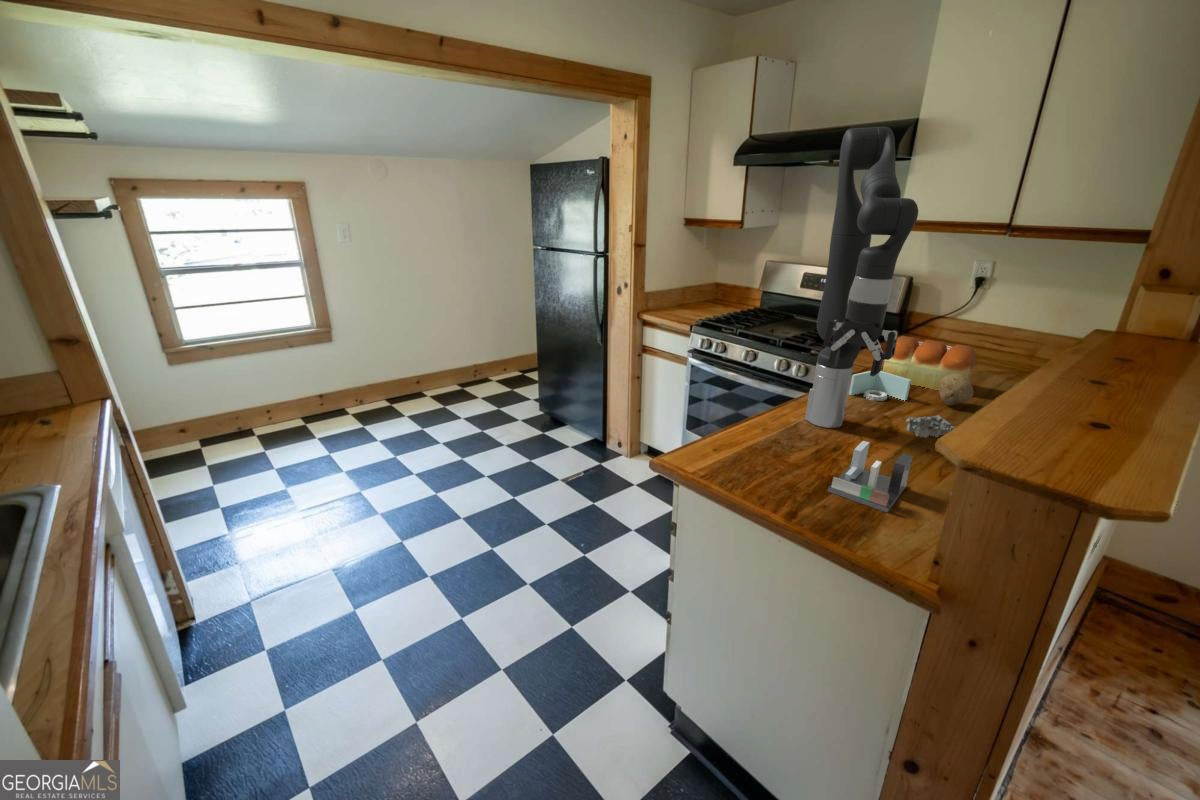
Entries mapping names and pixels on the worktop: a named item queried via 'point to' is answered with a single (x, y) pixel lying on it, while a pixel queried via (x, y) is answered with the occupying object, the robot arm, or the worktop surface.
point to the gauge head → (858, 461)
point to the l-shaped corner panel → (879, 386)
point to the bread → (929, 361)
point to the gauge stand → (883, 492)
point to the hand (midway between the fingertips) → (852, 370)
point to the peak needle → (874, 474)
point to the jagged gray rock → (928, 426)
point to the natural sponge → (955, 389)
